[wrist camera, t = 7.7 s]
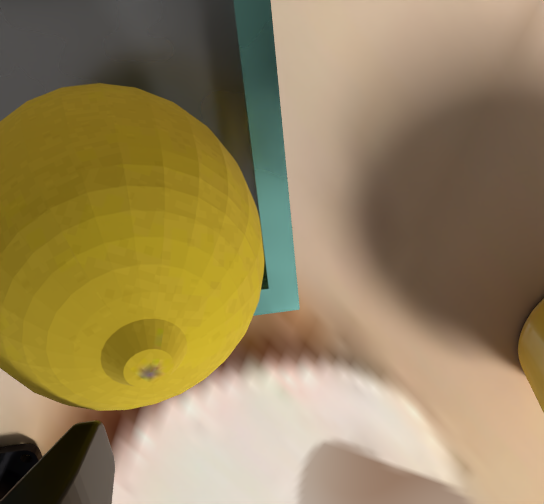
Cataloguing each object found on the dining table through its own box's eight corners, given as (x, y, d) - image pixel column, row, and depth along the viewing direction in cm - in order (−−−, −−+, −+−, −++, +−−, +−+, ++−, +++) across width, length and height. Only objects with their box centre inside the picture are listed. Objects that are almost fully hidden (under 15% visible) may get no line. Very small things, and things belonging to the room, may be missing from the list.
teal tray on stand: (278, 226, 20) (299, 309, 15) (33, 258, 20) (-41, 354, 15) (249, -55, 16) (261, -87, 11) (-61, -20, 16) (-214, -35, 10)
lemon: (-56, 222, 13) (-148, 510, 6) (17, 2, 11) (-8, 97, 5) (153, 277, 16) (232, 512, 9) (236, 109, 14) (400, 256, 8)
